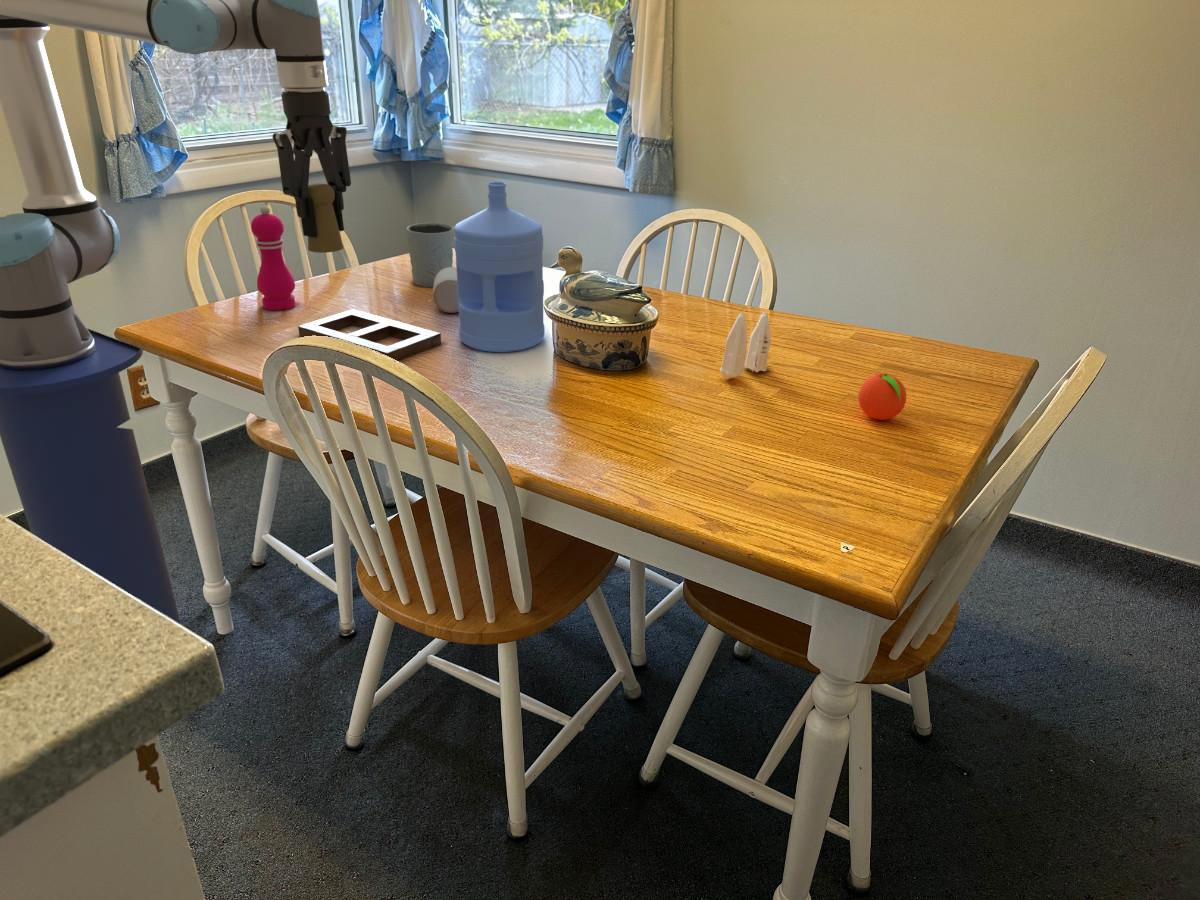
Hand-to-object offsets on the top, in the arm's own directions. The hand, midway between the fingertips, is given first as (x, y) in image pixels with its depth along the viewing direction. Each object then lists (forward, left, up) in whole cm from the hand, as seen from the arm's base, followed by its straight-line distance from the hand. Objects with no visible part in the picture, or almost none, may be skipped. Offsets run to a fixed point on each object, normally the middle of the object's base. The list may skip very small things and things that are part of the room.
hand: (324, 232), depth 154 cm
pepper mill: (-24, +6, -19) cm, 32 cm away
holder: (+6, +3, -19) cm, 20 cm away
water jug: (+25, +18, -19) cm, 36 cm away
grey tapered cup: (-12, +38, -19) cm, 44 cm away
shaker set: (+69, +29, -19) cm, 77 cm away
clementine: (+94, +25, -19) cm, 99 cm away
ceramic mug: (+6, +27, -19) cm, 34 cm away
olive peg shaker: (0, 0, -3) cm, 3 cm away
